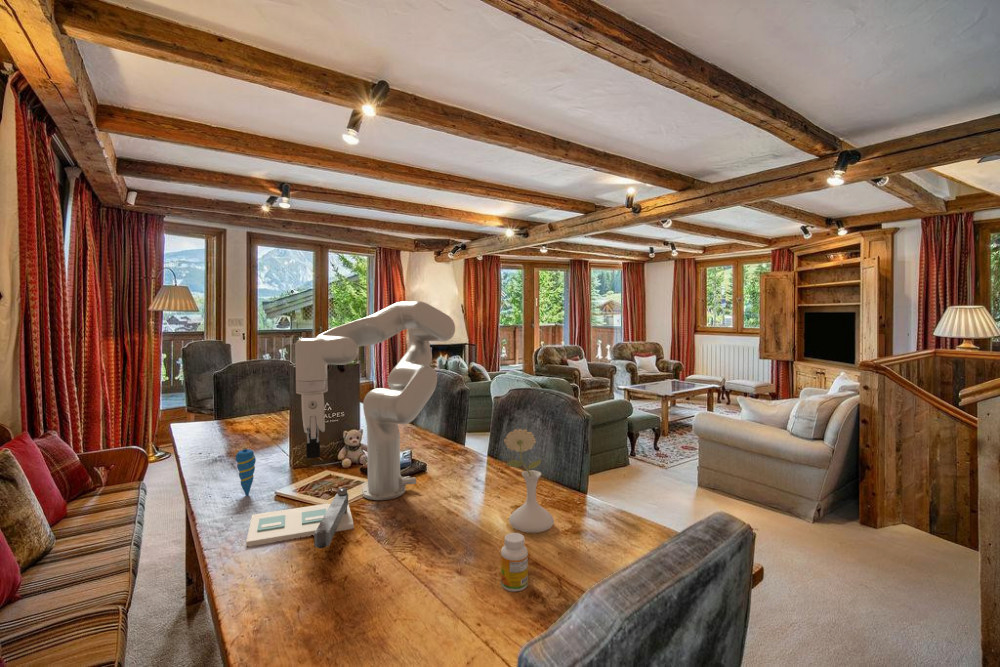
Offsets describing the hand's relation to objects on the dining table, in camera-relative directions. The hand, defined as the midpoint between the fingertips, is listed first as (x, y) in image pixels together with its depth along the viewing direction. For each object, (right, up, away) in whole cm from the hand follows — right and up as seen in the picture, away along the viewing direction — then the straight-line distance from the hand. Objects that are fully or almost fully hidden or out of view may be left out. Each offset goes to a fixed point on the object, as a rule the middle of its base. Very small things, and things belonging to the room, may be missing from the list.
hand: (313, 456), depth 123 cm
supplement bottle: (+51, -19, -27) cm, 61 cm away
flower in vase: (+55, -18, -2) cm, 58 cm away
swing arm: (+8, -16, -8) cm, 19 cm away
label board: (-3, -17, 0) cm, 17 cm away
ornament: (-27, -16, +19) cm, 37 cm away
